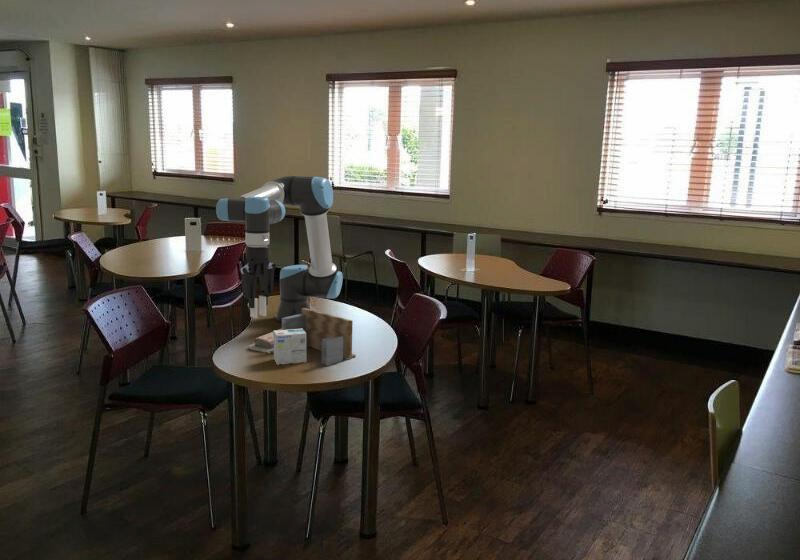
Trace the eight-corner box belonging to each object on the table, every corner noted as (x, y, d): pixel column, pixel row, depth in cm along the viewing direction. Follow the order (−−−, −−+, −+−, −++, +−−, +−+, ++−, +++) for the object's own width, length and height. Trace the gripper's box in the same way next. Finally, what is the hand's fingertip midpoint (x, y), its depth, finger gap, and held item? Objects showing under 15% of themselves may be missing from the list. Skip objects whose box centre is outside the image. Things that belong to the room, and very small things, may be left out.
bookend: (321, 364, 227) (321, 339, 225) (338, 359, 233) (338, 334, 231) (326, 366, 225) (326, 340, 223) (342, 360, 231) (343, 336, 229)
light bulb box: (302, 356, 234) (303, 327, 232) (307, 362, 228) (307, 332, 226) (272, 359, 231) (272, 329, 228) (276, 365, 224) (276, 335, 222)
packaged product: (277, 326, 256) (298, 330, 252) (277, 338, 257) (298, 342, 253) (247, 337, 240) (269, 341, 236) (247, 350, 241) (269, 354, 237)
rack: (281, 349, 241) (281, 312, 238) (307, 342, 251) (308, 307, 248) (329, 365, 226) (330, 326, 223) (355, 357, 235) (356, 319, 233)
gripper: (244, 249, 202) (245, 323, 207) (284, 244, 214) (284, 314, 219) (229, 246, 207) (231, 318, 212) (269, 241, 219) (270, 310, 224)
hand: (258, 316), depth 215 cm, fingers open, 3 cm apart
